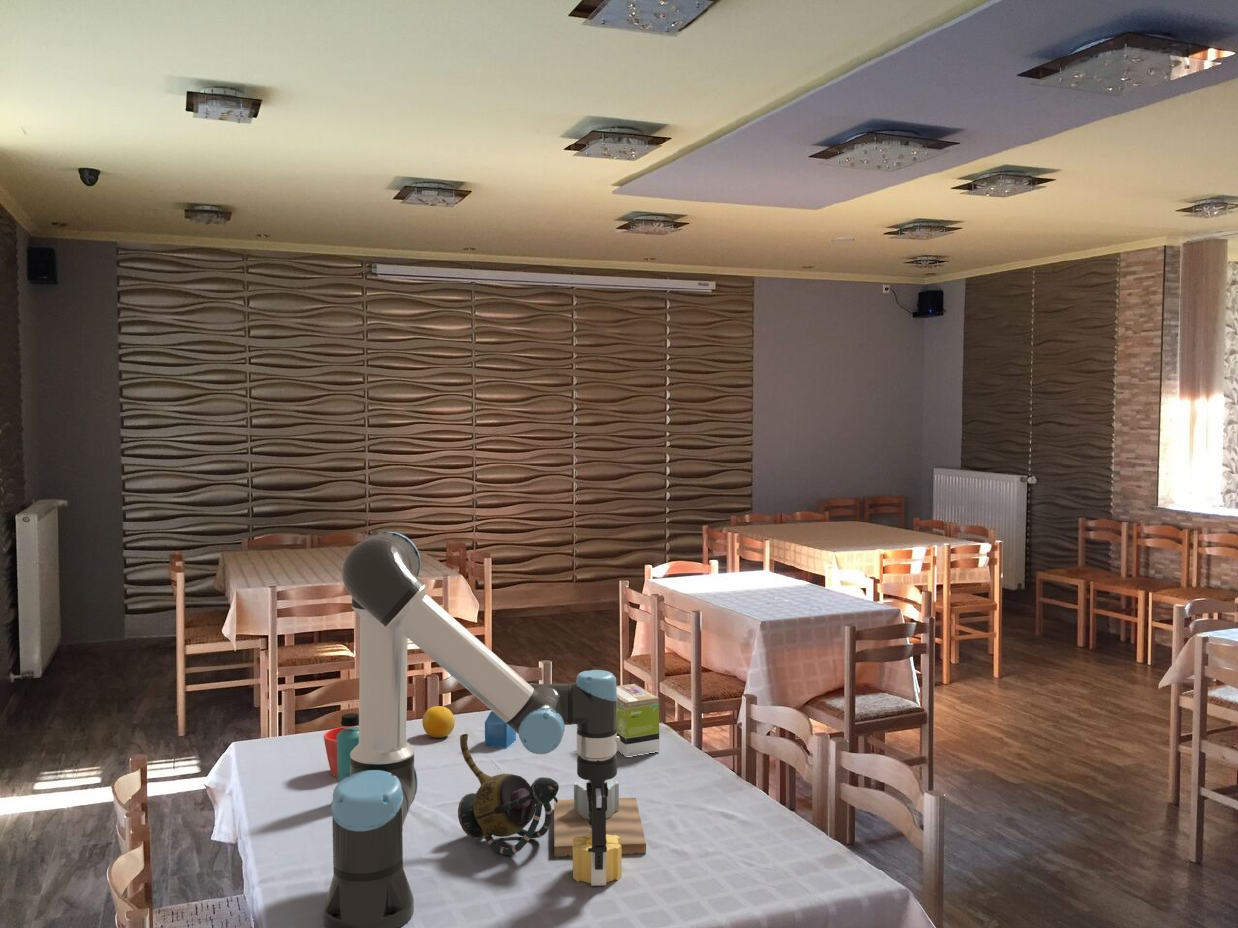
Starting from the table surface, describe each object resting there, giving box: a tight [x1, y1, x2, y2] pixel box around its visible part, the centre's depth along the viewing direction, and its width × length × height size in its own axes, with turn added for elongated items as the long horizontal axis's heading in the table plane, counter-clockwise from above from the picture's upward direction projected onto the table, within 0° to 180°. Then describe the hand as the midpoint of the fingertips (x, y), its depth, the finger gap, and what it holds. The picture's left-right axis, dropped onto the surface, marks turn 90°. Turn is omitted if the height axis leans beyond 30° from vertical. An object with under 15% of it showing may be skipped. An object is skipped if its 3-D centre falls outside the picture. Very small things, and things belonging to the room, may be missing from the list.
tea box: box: [616, 683, 661, 758], centre depth 261 cm, size 15×10×15 cm, turn 25°
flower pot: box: [323, 726, 359, 778], centre depth 243 cm, size 11×11×10 cm
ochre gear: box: [572, 834, 623, 884], centre depth 189 cm, size 10×9×6 cm
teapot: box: [457, 733, 560, 856], centre depth 201 cm, size 12×25×23 cm
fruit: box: [422, 705, 455, 739], centre depth 271 cm, size 9×8×8 cm
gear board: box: [553, 797, 647, 857], centre depth 208 cm, size 24×18×9 cm
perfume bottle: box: [484, 710, 517, 749], centre depth 265 cm, size 6×6×12 cm
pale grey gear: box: [573, 778, 620, 819], centre depth 214 cm, size 10×9×6 cm
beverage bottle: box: [337, 712, 359, 784], centre depth 224 cm, size 6×7×20 cm
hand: (597, 871), depth 189 cm, fingers closed on ochre gear, 9 cm apart
